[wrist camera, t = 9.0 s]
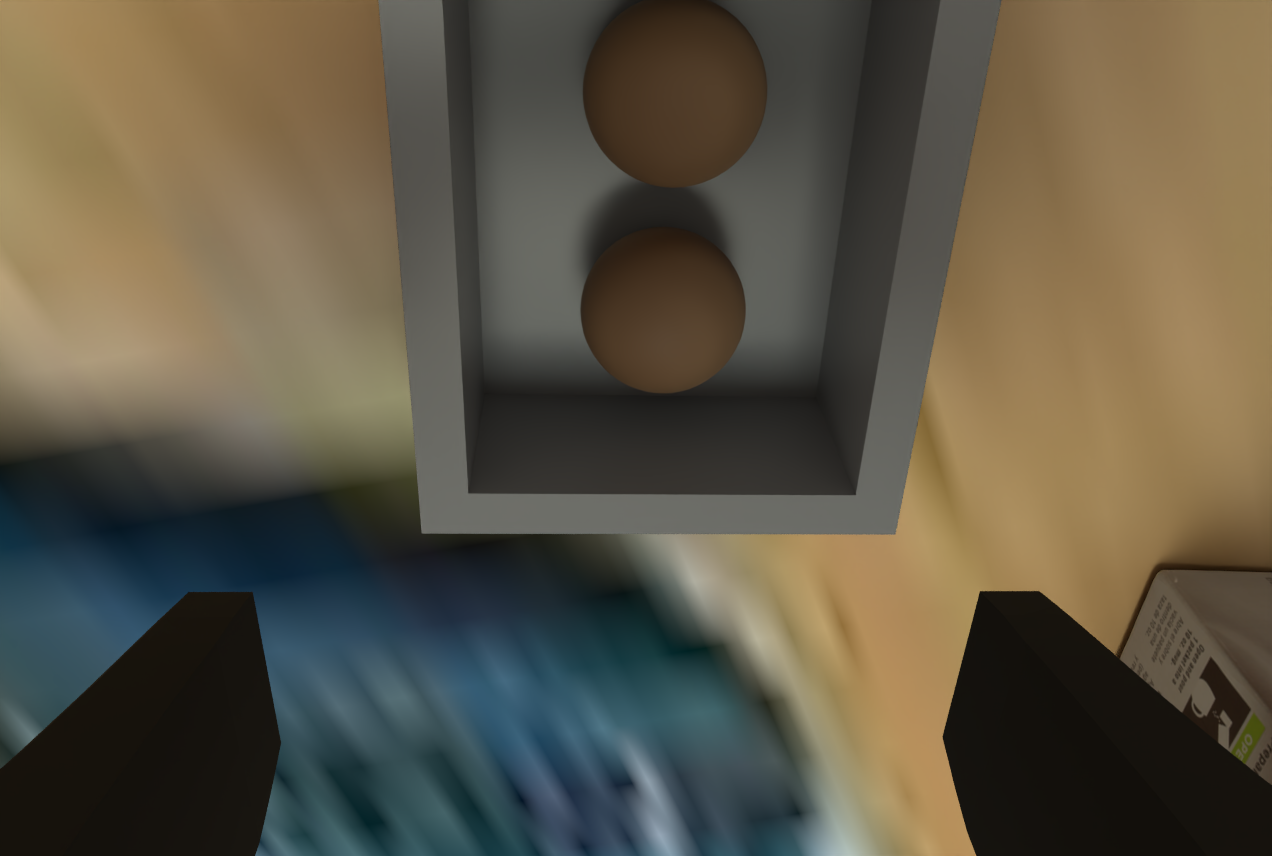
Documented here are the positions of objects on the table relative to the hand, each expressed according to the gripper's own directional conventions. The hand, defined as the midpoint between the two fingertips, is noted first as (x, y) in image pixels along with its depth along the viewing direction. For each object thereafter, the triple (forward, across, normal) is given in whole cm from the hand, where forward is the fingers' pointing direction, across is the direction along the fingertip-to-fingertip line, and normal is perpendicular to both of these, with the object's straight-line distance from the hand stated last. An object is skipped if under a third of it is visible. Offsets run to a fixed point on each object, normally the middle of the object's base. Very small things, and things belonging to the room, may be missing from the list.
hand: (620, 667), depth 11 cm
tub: (+10, -1, -2) cm, 11 cm away
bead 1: (+10, -1, -4) cm, 11 cm away
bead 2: (+10, -1, 0) cm, 10 cm away
